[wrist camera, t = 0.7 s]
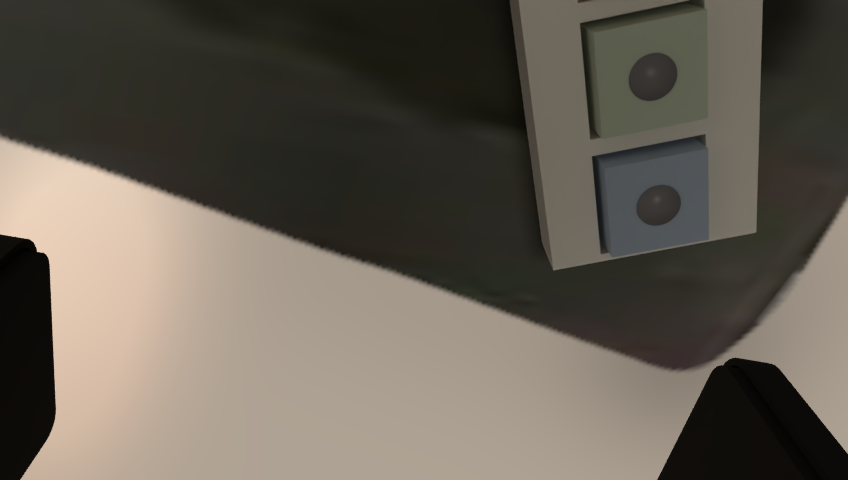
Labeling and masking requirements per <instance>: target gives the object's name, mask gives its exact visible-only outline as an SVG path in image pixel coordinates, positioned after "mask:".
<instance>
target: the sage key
mask: <svg viewBox="0 0 848 480" xmlns="http://www.w3.org/2000/svg"><path fill="white" fill-rule="evenodd" d="M580 31H581V42H582V53H583V64H584V75H585V86H586V98H587V109H588V120H589V124H590V126H591V127H592V128H593V129H594V130H595V131H596V133H597V134H598V135H599V136H600V137H601V138H602V139H606V138H611V137H616V136H621V135H626V134H631V133H636V132H641V131H646V130H651V129H657V128H662V127H667V126H672V125H677V124H682V123H687V122H692V121H697V120H702V119H707V118H708V42H707V9H705V8H702V7H699V6H696V5H693V4H690V3H687V2H681V3H676V4H672V5H667V6H662V7H657V8H653V9H648V10H643V11H638V12H633V13H629V14H624V15H619V16H614V17H610V18H605V19H600V20H595V21H590V22H586V23H581V24H580Z"/></svg>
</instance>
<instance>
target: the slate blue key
mask: <svg viewBox="0 0 848 480" xmlns="http://www.w3.org/2000/svg"><path fill="white" fill-rule="evenodd" d="M592 164H593V175H594V186H595V197H596V208H597V219H598V230H599V237H600V238H601V240H602V242H603V243H604V245H605V247H606V248H607V250H608V252H609V253H610V255H611V257H618V256H623V255H628V254H634V253H639V252H644V251H650V250H655V249H661V248H666V247H671V246H677V245H682V244H687V243H693V242H698V241H703V240H709V178H708V148H707V147H706V146H704V145H703V144H702V143H701V142H699V141H698V140H697V139H695V138H694V137H688V138H683V139H678V140H673V141H667V142H662V143H657V144H652V145H647V146H642V147H637V148H632V149H627V150H622V151H617V152H611V153H606V154H601V155H596V156H592Z"/></svg>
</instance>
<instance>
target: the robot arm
mask: <svg viewBox="0 0 848 480" xmlns="http://www.w3.org/2000/svg"><path fill="white" fill-rule="evenodd" d="M52 337H53V336H52V313H51V291H50V269H49V259H48V257H47V256H46V254H44V253H40V252H37V249H36V247H35V245H34V243H33V242H32V241H31V240H29V239H24V238H18V237H11V236H5V235H0V480H20V479H21V478H22V476H23V475H24V473H25V472H26V470H27V469H28V467H29V466H30V464H31V463H32V461H33V460H34V458H35V457H36V455H37V454H38V452H39V451H40V449H41V448H42V446H43V445H44V443H45V442H46V440H47V438H48V437H49V435H50V432H51V430H52V427H53V424H54V420H55V414H56V404H55V381H54V359H53V338H52ZM658 480H848V454H847V453H846V451H845V450H844V449H843V448H842V446H841V445H840V444H839V443H838V442H837V440H836V439H835V438H834V436H833V435H832V434H831V433H830V431H829V430H828V429H827V428H826V426H825V425H824V424H823V423H822V422H821V420H820V419H819V418H818V417H817V415H816V414H815V413H814V412H813V410H812V409H811V408H810V407H809V405H808V404H807V403H806V402H805V400H804V399H803V398H802V397H801V395H800V394H799V393H798V392H797V390H796V389H795V388H794V387H793V386H792V384H791V383H790V382H789V381H788V380H787V378H786V377H785V375H784V374H783V373H782V372H781V371H780V369H779V368H777V367H776V366H775V365H773V364H769V363H763V362H758V361H752V360H746V359H740V358H732V359H729V360H728V361H727V362H725V364H724V365H723V366H722V365H721V366H717V367H716V368H715V369H714V370H713V371H712V373H711V374H710V376H709V378H708V380H707V382H706V384H705V386H704V388H703V390H702V392H701V394H700V396H699V398H698V400H697V402H696V404H695V406H694V408H693V410H692V412H691V414H690V416H689V418H688V420H687V422H686V424H685V426H684V428H683V430H682V432H681V434H680V436H679V438H678V440H677V442H676V444H675V446H674V448H673V450H672V452H671V454H670V456H669V458H668V460H667V462H666V464H665V466H664V468H663V470H662V472H661V473H660V476H659V477H658Z"/></svg>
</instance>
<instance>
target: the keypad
mask: <svg viewBox="0 0 848 480" xmlns="http://www.w3.org/2000/svg"><path fill="white" fill-rule="evenodd" d="M509 1H510V8H511V16H512V23H513V31H514V38H515V46H516V53H517V61H518V68H519V75H520V83H521V90H522V98H523V105H524V113H525V120H526V128H527V135H528V142H529V150H530V157H531V165H532V172H533V180H534V187H535V195H536V202H537V209H538V217H539V224H540V232H541V239H542V244H543V247H544V249H545V252H546V254H547V256H548V259H549V261H550V264H551V266H552V268H553V270H558V269H563V268H569V267H574V266H580V265H585V264H590V263H596V262H601V261H606V260H612V259H617V258H622V257H628V256H633V255H638V254H644V253H649V252H655V251H660V250H665V249H671V248H676V247H681V246H687V245H692V244H697V243H703V242H708V241H714V240H719V239H724V238H730V237H735V236H740V235H746V234H751V233H756V221H757V186H758V150H759V115H760V80H761V44H762V9H763V0H509ZM681 2H687V3H690V4H693V5H696V6H699V7H702V8H705V9H707V42H708V118H707V119H702V120H697V121H692V122H687V123H682V124H677V125H672V126H667V127H662V128H657V129H651V130H646V131H641V132H636V133H631V134H626V135H621V136H616V137H611V138H606V139H602V138H601V137H600V136H599V135H598V134H597V133H596V131H595V130H594V129H593V128H592V127H591V126H590V124H589V120H588V109H587V98H586V86H585V75H584V64H583V53H582V42H581V31H580V24H581V23H586V22H590V21H595V20H600V19H605V18H610V17H614V16H619V15H624V14H629V13H633V12H638V11H643V10H648V9H653V8H657V7H662V6H667V5H672V4H676V3H681ZM688 137H694V138H695V139H697V140H698V141H699V142H701V143H702V144H703V145H704V146H706V147H707V148H708V178H709V240H703V241H698V242H693V243H687V244H682V245H677V246H671V247H666V248H661V249H655V250H650V251H644V252H639V253H634V254H628V255H623V256H618V257H611V255H610V253H609V252H608V250H607V248H606V247H605V245H604V243H603V242H602V240H601V238H600V237H599V230H598V219H597V208H596V197H595V186H594V175H593V164H592V156H596V155H601V154H606V153H611V152H617V151H622V150H627V149H632V148H637V147H642V146H647V145H652V144H657V143H662V142H667V141H673V140H678V139H683V138H688Z"/></svg>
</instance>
